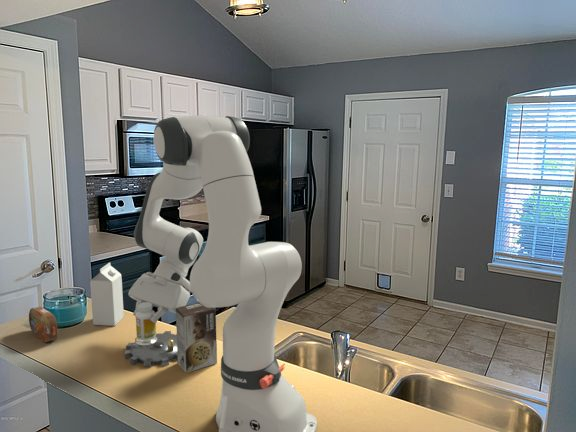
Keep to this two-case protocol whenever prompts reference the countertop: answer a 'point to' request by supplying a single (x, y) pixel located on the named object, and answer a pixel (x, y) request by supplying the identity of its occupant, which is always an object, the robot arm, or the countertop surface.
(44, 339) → the tin
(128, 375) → the countertop surface
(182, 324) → the coffee box
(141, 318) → the supplement bottle
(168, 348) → the sprocket
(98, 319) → the milk carton
